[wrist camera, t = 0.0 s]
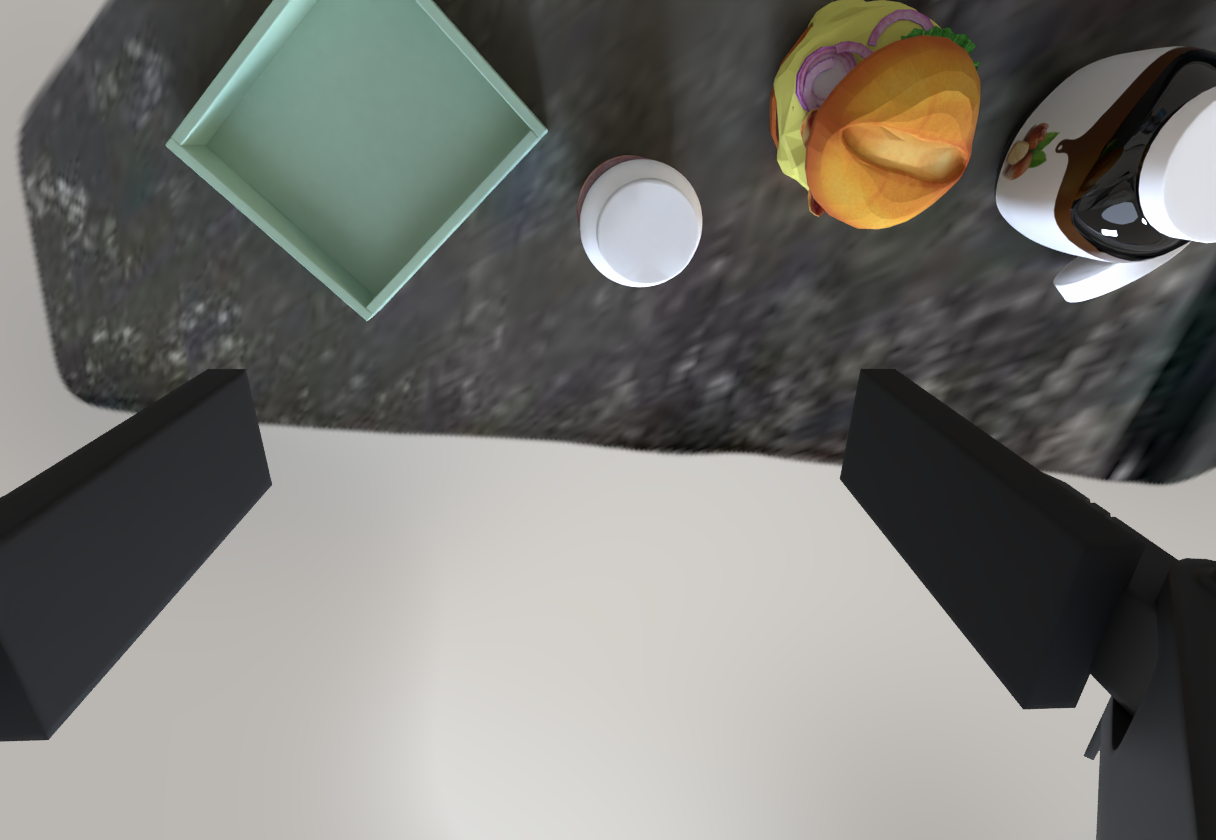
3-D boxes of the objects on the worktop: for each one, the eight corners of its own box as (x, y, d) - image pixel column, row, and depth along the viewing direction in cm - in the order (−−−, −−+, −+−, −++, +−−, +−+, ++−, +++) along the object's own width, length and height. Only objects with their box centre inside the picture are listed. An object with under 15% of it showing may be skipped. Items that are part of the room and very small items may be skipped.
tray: (365, -77, 32) (345, -98, 29) (548, 130, 37) (546, 129, 34) (196, 145, 36) (164, 145, 33) (381, 309, 40) (366, 321, 37)
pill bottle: (560, 233, 39) (556, 265, 29) (604, 135, 37) (616, 132, 27) (648, 277, 40) (674, 322, 30) (696, 185, 38) (740, 200, 28)
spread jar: (1065, 41, 36) (1271, -1, 25) (1202, 134, 39) (1443, 131, 28) (938, 236, 40) (1069, 271, 30) (1069, 309, 43) (1234, 365, 32)
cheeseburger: (918, -38, 34) (1047, -34, 26) (918, 156, 40) (1022, 207, 33) (739, 32, 35) (812, 56, 27) (768, 212, 41) (833, 275, 33)
